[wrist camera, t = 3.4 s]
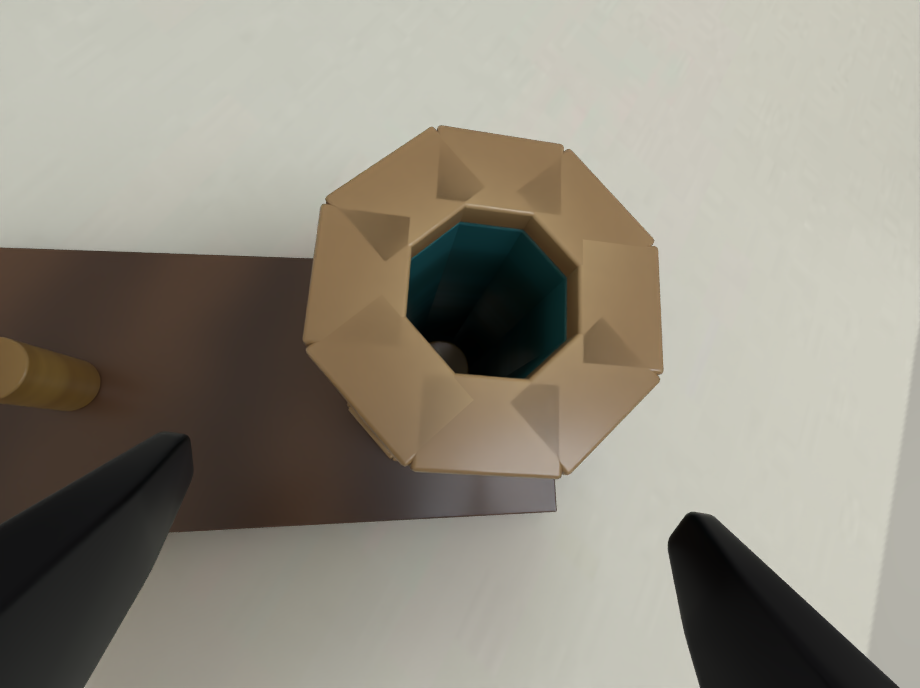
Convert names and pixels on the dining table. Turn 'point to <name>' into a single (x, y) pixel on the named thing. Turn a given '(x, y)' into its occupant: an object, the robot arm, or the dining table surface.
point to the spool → (484, 305)
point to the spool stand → (202, 394)
